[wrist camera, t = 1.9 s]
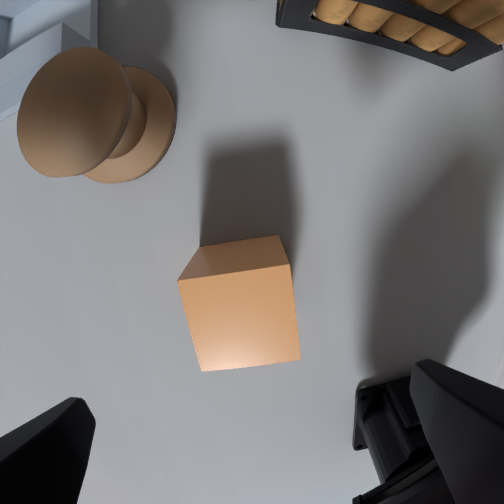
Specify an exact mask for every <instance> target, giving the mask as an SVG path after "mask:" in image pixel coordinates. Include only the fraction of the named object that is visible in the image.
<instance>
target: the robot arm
mask: <svg viewBox="0 0 504 504" xmlns="http://www.w3.org/2000/svg"><path fill="white" fill-rule="evenodd" d="M364 395H365V396H364ZM362 396H364V397H362ZM95 426H96V422H95V418H94V416H93V414H92V413H91V411H90V409H89V407H88V406H87V404H86V402H85V400H83V399H82V398H78V397H70V398H68V399H66V400H64V401H63V402H61V403H59V404H58V405H56V406H54V407H53V408H51V409H49V410H48V411H46V412H44V413H42V414H41V415H39V416H37V417H36V418H34V419H32V420H30V421H29V422H27V423H25V424H23V425H22V426H20V427H18V428H16V429H15V430H13V431H11V432H9V433H8V434H6V435H4V436H2V437H0V504H77V501H78V497H79V494H80V490H81V487H82V483H83V480H84V476H85V473H86V469H87V465H88V461H89V456H90V450H91V445H92V440H93V436H94V431H95ZM352 445H353V448H354V450H356V451H358V450H362V449H366V448H368V449H369V452H370V455H371V458H372V460H373V463H374V466H375V469H376V472H377V474H378V477H379V480H380V483H381V485H379V486H377V487H376V488H374V489H372V490H370V491H368V492H367V493H365V494H363V495H359V496H357V497H355V498H353V500H352V504H504V389H501V388H499V387H496V386H494V385H491V384H489V383H486V382H484V381H481V380H479V379H476V378H474V377H471V376H469V375H467V374H464V373H462V372H459V371H457V370H454V369H452V368H450V367H447V366H445V365H442V364H440V363H438V362H435V361H433V360H430V359H424V360H421V361H418V362H416V363H414V365H413V368H412V375H411V376H409V377H405V378H402V379H398V380H395V381H391V382H388V383H384V384H380V385H376V386H372V387H368V388H364V389H361V390H359V391H358V392H357V394H356V401H355V418H354V432H353V443H352Z"/></svg>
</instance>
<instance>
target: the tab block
mask: <svg viewBox="0 0 504 504" xmlns="http://www.w3.org/2000/svg"><path fill="white" fill-rule="evenodd" d="M177 283H178V287H179V291H180V295H181V299H182V303H183V307H184V311H185V314H186V318H187V322H188V326H189V329H190V333H191V337H192V340H193V344H194V347H195V351H196V354H197V357H198V361H199V364H200V367H201V371H214V370H225V369H235V368H244V367H252V366H260V365H267V364H275V363H282V362H288V361H295V360H301V358H300V348H299V339H298V330H297V321H296V312H295V303H294V295H293V287H292V279H291V271H290V264H289V261H288V258H287V256H286V253H285V251H284V248H283V245H282V243H281V240H280V237H279V235H272V236H265V237H259V238H252V239H246V240H240V241H233V242H227V243H220V244H214V245H208V246H202V247H199V248H198V250H197V251H196V253H195V254H194V256H193V257H192V259H191V260H190V262H189V263H188V265H187V266H186V268H185V269H184V271H183V272H182V274H181V275H180V277H179V278H178V280H177Z"/></svg>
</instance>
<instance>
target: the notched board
mask: <svg viewBox="0 0 504 504" xmlns="http://www.w3.org/2000/svg"><path fill="white" fill-rule="evenodd" d="M75 47H93V48H97V49H98V0H0V120H3V119H5V118H6V117H8V116H10V115H11V114H13V113H15V112H17V111H18V110H19V107H20V103H21V100H22V98H23V95H24V93H25V91H26V88H27V86H28V85H29V83H30V81H31V80H32V78H33V77H34V76H35V74H36V73H37V72H38V71H39V69H40V68H41V67H42V66H43V65H44V64H45V63H47V62H48V61H49V60H50V59H52V58H53V57H54V56H56V55H58V54H59V53H61V52H63V51H66V50H68V49H71V48H75Z"/></svg>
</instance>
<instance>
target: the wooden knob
mask: <svg viewBox="0 0 504 504" xmlns="http://www.w3.org/2000/svg"><path fill="white" fill-rule="evenodd" d="M175 128H176V109H175V105H174V101H173V99H172V96H171V94H170V93H169V91H168V89H167V88H166V87H165V86H164V85H163V84H162V83H161V82H160V81H159V80H158V79H157V78H156V77H155V76H154V75H152V74H151V73H149V72H147V71H145V70H143V69H140V68H137V67H130V66H121V65H120V64H119V63H118V62H117V61H116V60H115V59H113V58H112V57H111V56H109V55H108V54H106V53H105V52H103V51H102V50H99V49H97V48H93V47H75V48H71V49H68V50H66V51H63V52H61V53H59V54H58V55H56V56H54V57H53V58H52V59H50V60H49V61H48V62H47V63H45V64H44V65H43V66H42V67H41V68H40V69H39V71H38V72H37V73H36V74H35V76H34V77H33V78H32V80H31V81H30V83H29V85H28V86H27V88H26V91H25V93H24V95H23V98H22V100H21V103H20V107H19V112H18V118H17V136H18V142H19V146H20V149H21V152H22V154H23V156H24V158H25V159H26V161H27V162H28V164H29V165H30V166H31V167H32V168H33V169H35V170H36V171H37V172H39V173H41V174H43V175H45V176H49V177H68V176H77V175H81V174H83V175H85V176H86V177H88V178H89V179H92V180H94V181H97V182H101V183H119V182H126V181H130V180H134V179H137V178H139V177H141V176H143V175H144V174H146V173H148V172H149V171H150V170H151V169H153V168H154V167H155V166H156V165H157V164H158V163H159V162H160V161H161V159H162V158H163V157H164V155H165V154H166V152H167V151H168V149H169V147H170V145H171V142H172V140H173V136H174V133H175Z"/></svg>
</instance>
